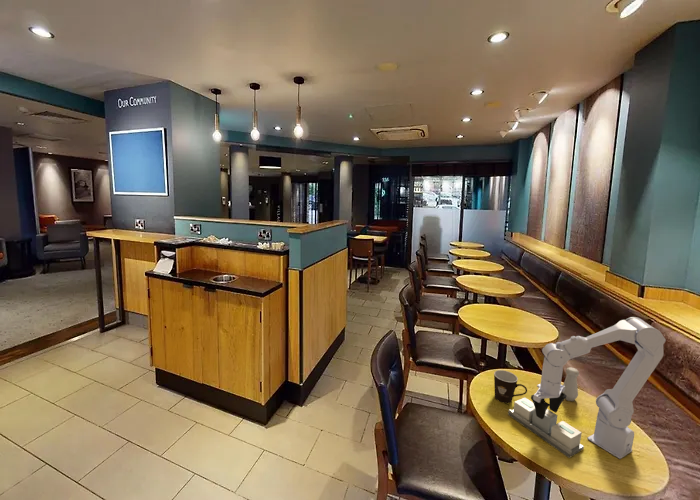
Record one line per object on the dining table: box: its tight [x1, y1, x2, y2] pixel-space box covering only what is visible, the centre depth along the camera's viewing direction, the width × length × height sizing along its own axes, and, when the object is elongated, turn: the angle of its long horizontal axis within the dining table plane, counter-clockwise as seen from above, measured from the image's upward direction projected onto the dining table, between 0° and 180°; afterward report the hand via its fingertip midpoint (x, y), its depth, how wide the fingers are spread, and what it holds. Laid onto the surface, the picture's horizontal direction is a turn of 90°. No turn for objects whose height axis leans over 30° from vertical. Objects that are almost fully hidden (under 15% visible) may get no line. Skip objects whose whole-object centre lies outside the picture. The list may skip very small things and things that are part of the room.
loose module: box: [532, 408, 558, 434], centre depth 112 cm, size 6×4×6 cm, turn 27°
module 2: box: [551, 420, 583, 450], centre depth 105 cm, size 6×6×5 cm
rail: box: [507, 408, 585, 459], centre depth 112 cm, size 22×8×2 cm, turn 27°
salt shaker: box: [562, 367, 580, 402], centre depth 129 cm, size 6×6×13 cm
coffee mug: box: [493, 369, 528, 404], centre depth 127 cm, size 12×9×10 cm
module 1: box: [512, 397, 535, 422], centre depth 118 cm, size 6×6×5 cm
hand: (546, 414), depth 111 cm, fingers open, 7 cm apart
